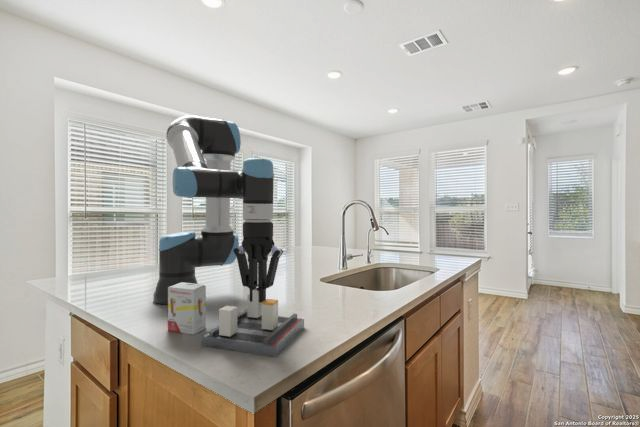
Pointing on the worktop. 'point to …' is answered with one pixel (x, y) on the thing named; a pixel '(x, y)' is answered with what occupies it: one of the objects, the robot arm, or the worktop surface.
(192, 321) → the ink box
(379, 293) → the worktop surface
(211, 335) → the panel
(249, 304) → the block
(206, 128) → the robot arm
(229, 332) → the block
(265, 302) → the block
